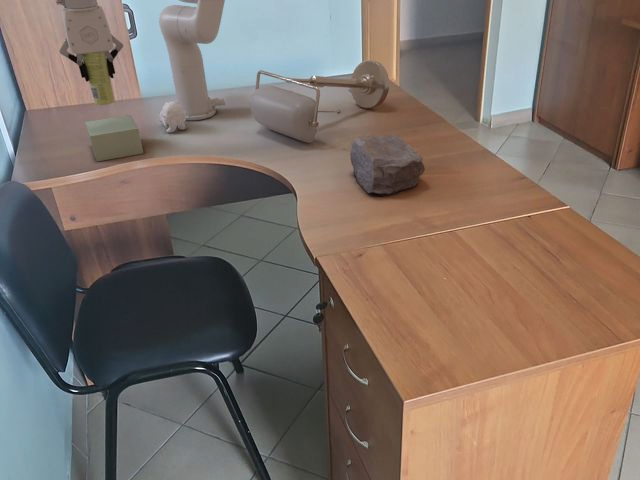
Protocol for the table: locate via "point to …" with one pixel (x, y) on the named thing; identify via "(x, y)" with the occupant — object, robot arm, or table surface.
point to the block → (114, 137)
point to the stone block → (385, 164)
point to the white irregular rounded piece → (173, 116)
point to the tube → (99, 77)
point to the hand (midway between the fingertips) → (99, 77)
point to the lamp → (301, 111)
